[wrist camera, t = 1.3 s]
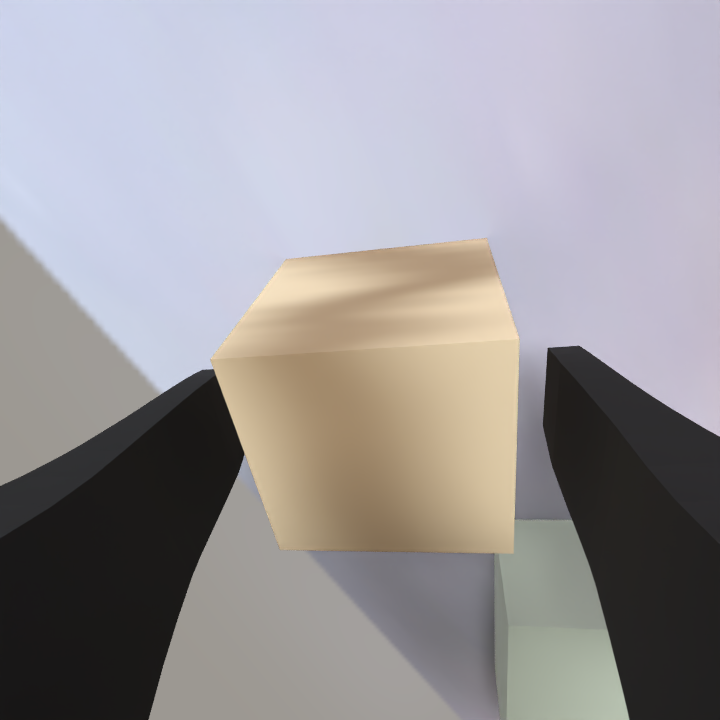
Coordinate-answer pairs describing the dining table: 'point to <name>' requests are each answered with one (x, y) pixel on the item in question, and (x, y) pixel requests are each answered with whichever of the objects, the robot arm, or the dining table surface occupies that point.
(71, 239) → the dining table surface
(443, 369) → the maple cube
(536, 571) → the sage base block
